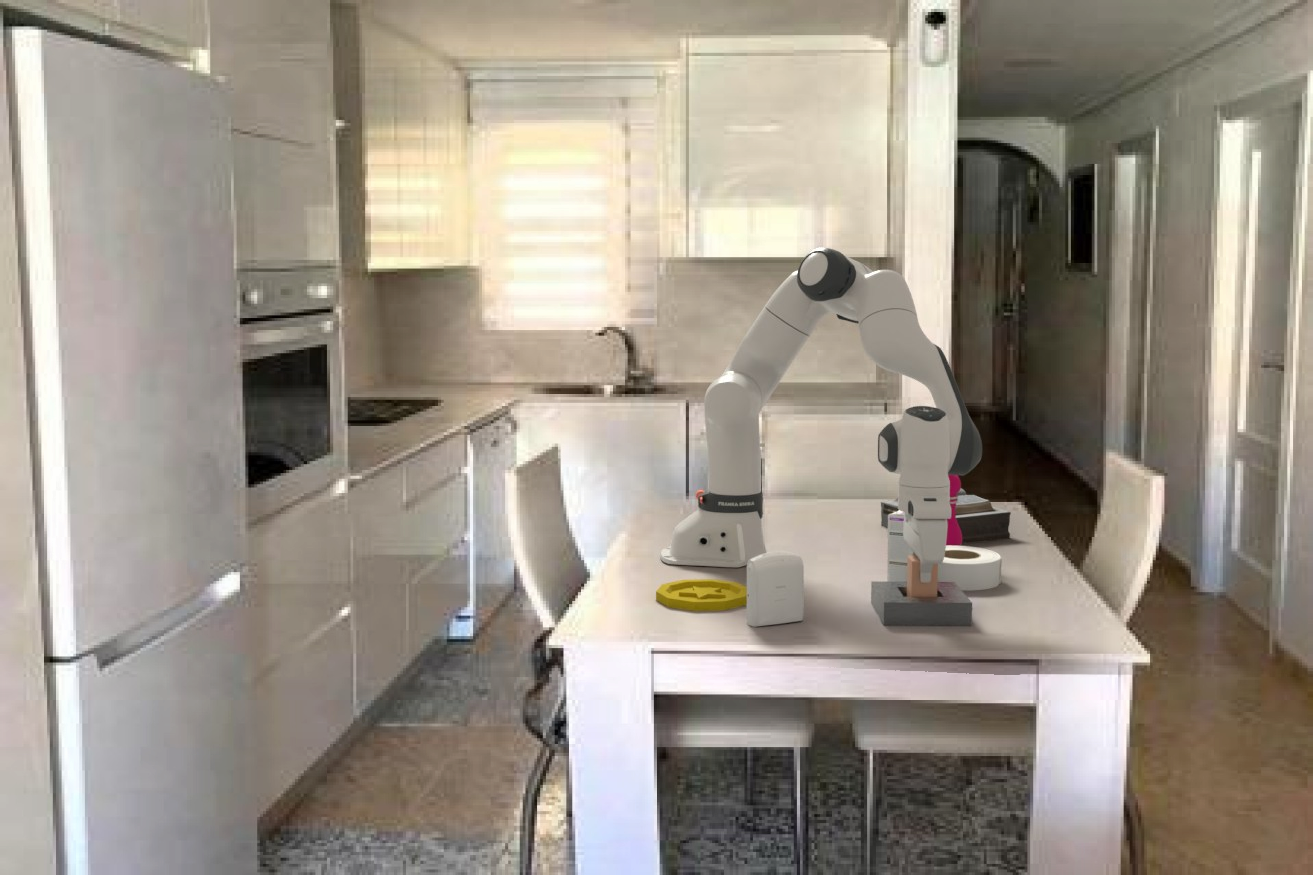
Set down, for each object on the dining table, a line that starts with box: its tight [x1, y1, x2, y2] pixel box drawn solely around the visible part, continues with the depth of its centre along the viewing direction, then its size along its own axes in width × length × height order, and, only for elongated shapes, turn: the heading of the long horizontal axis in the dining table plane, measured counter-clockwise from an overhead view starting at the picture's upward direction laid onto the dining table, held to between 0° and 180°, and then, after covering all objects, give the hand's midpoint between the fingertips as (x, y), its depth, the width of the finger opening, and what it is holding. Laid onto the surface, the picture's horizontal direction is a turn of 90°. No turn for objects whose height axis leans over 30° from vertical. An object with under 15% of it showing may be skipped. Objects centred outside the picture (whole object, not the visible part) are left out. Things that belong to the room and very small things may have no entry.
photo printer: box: [746, 550, 805, 628], centre depth 228 cm, size 10×4×12 cm, turn 112°
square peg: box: [907, 556, 938, 597], centre depth 233 cm, size 4×4×8 cm
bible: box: [880, 488, 1011, 544], centre depth 305 cm, size 23×27×10 cm
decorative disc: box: [655, 578, 747, 612], centre depth 245 cm, size 17×18×2 cm
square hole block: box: [870, 580, 973, 627], centre depth 234 cm, size 15×15×4 cm
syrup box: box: [886, 510, 912, 582], centre depth 253 cm, size 6×6×14 cm
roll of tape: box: [938, 545, 1003, 591], centre depth 259 cm, size 16×16×6 cm
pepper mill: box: [946, 475, 963, 546], centre depth 276 cm, size 7×7×20 cm
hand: (921, 577), depth 233 cm, fingers closed on square peg, 4 cm apart
